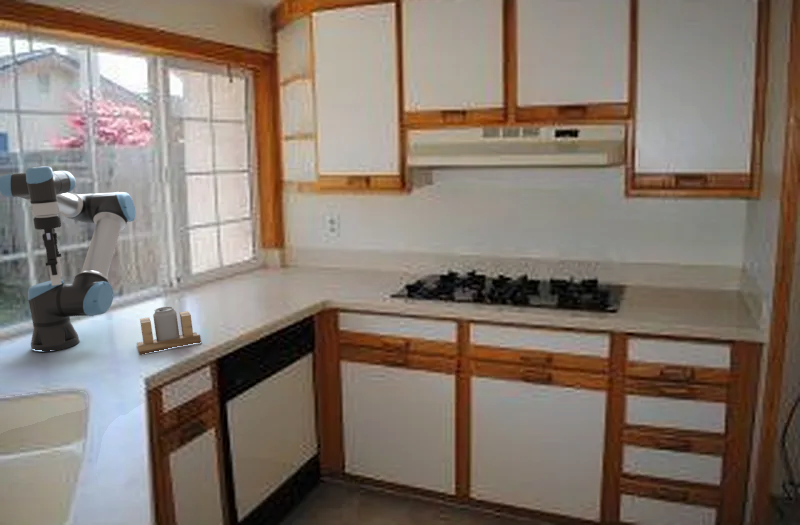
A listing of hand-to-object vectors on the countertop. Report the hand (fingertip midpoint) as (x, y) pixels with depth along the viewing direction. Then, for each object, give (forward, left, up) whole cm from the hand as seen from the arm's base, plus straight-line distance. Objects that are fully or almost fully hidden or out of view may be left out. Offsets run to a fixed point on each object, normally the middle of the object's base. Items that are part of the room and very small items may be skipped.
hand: (57, 281), depth 209 cm
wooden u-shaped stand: (+4, +31, -27) cm, 41 cm away
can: (+4, +31, -26) cm, 40 cm away
